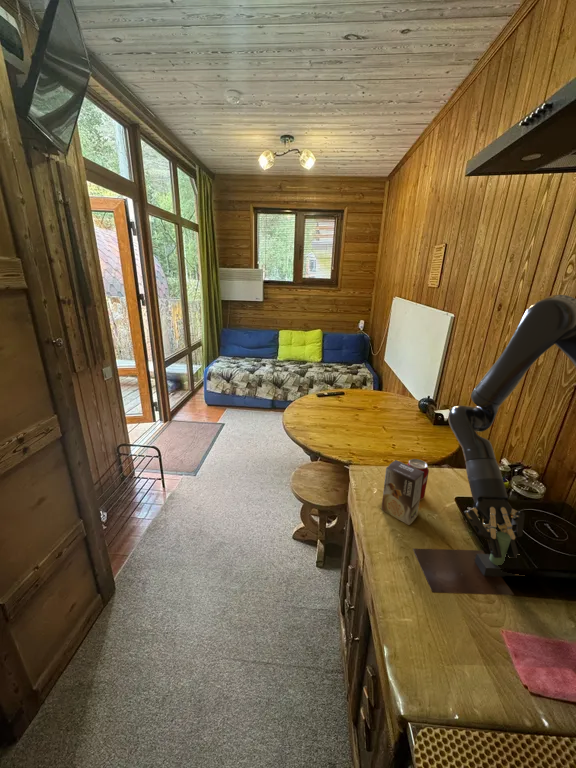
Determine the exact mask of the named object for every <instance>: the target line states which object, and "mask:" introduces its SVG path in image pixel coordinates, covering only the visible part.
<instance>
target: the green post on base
mask: <svg viewBox="0 0 576 768" xmlns="http://www.w3.org/2000/svg"><path fill="white" fill-rule="evenodd" d="M496 540H498V543H499V547H500V551H501V555H502V558H495V557H494V556H493V555H492V554H491V553H485V554H477V555H476V559H475V563H476V564H477V566H478V567H479V569H480V571H481V572H482V574H483V575H484V576H496V577H502V578H506V577H515V576H516V575H515V574H512V573H507V572H501V570H500V569H501V568H500V567H499V566H498V565H502V564H503V563H504V561H505V557H506V554H507V551H508V547H509V544H510V541H511V537H510V536H509V535H508V534H506V533H504V532H501V530H500V531H496Z"/></svg>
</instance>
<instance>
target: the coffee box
mask: <svg viewBox="0 0 576 768" xmlns="http://www.w3.org/2000/svg"><path fill="white" fill-rule="evenodd" d="M407 464H408V463H404V462H402V461H400V460H397V459H395V460H393V461H392V462H391V463H389V464H388V466H387V467H386V468H385V475H384V481H383V483H384V484H383V492H382V502H381V510H382V511H383V512H385V513H387V514H388V515H390V516H391V517H392V518H393V517H394V518H395V519H397V520H399V521H401V522H402V523H404V524H406V525H407V526H410V525H411V524H412V523H413V522H414V521H415V520H416V518H417V517H418V515H419V508H420V504H421V503H420V502H421V500H420V497H421V490H422V484H423V478H424V472H423V471H421V470H419V469H416V468H414V467H411V466H409V465H407Z"/></svg>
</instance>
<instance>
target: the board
mask: <svg viewBox="0 0 576 768" xmlns="http://www.w3.org/2000/svg"><path fill="white" fill-rule="evenodd" d="M412 551H413V552H414V555H415V558H416V560H417V562H418V564H419V566H420V568H421V571H422V573H423V575H424V577H425V579H426V582H427V584H428V586H429V588H430V590H431V593H434V594H463V595H464V594H470V595H496V596H497V595H501V596H506V595H507V596H515V594H514V592H513V591H512V589H511V588H510V586H509V585H508V584H507V582H506V581H505V580H504V577H496V576H484V575H483V574H482V572H481V571H480V569H479V567H478V566H477V564H476V563H475V559H476V555H477V554H486V553H485V552H484V550H482V549H481V550H479V549H449V548H447V549H445V548H414V547H412Z"/></svg>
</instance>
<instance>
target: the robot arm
mask: <svg viewBox="0 0 576 768" xmlns="http://www.w3.org/2000/svg"><path fill="white" fill-rule="evenodd" d="M554 345H556V347H557V349H559V350H560V351H561V352H562V353H563V354H564V355H565V356H566V357H567V358H568V359H569V361H570V362H571V363H572V365H573V366H574V368H575V370H576V298H574V296H571V295H567V294H552V295H549V296H547V297H544V298H541V299H539V300H537V301H536V302H533V303H532V304H531V305H530V306H528V307H527V309H526V310H525V311H524V313H523V315H522V317H521V318H520V321H519V323H518V325H517V327H516V329H515V330H514V333H513V334H512V337H511V338H510V340H509V342H508V344H507V345H506V347H505V348H504V350H503V352H502V353H501V355H499V357H498V358H497V360H496V361H495V363H493V365H492V366H491V367H490V369H489V370H488V371H487V372H486V374H484V376H483V377H482V379H481V380H479V382H478V384H477V385H476V386H475V388H474V389H473V391H472V392H471V395H470V399H471V401H472V402H473V403H474V405H476V406H471V405H462V404H461V405H460V404H459V405H454V406H453V407H451V408H450V410H449V412H448V417H447V418H448V419H447V422H448V424H449V427H450V429H451V432H452V433H453V435H454V437H455V439H456V441H457V442H458V444H459V446H460V448H461V450H462V454H463V455H462V456H463V459H464V463H465V472H466V477H467V480H468V485H469V490H470V494H471V497H472V499H473V500H472V501H473V507H472V508H470V509H467V510H464V511H463V513H464V516H465V517H466V519H467V520H468V522H469V523H470V525H471V527H472V529H473V530H474V531H475V534H477V536H479V537H480V536H481V537H483V538H485V539H486V541H487V544H488V549H489V554H492V555H493V556H494V557H495V558H502V555H501V551H500V547H499V543H498V540H496V533H497V530H496V529H497V527H498V529H499V530H500V531H501V532H504V533H506V534H508V535H509V536H510V537H511V541H510V544H509V547H508V551H507V554H508V557H509V558H517V555H519V551H518V547H517V544H516V539H517V538H521V537H523V533H524V525H525V516H526V513H525V511H523V510H516V509H514V508H513V507H512V506H511V504H510V503H509V501H508V499H509V496H508V492H507V488H506V484H505V482H504V478H503V475H502V471H501V468H500V466H499V464H498V461H497V459H496V454H495V452H494V448H493V445H492V443H491V441H490V440H489V439H487V438H485V437H483V436H480V435H479V434H478V433H483V432H485V431H487V430H489V429H490V427H492V425H493V423H494V421H495V419H496V416H497V414H498V412H499V410H500V409H499V408H500V407H501V405H502V404H503V403H504V402H505V401H506V400H507V399H508V397H509V396H510V395H511V394H512V393H513V392H514V391H515V389H516V388H517V386H518V385H519V384H520V382H521V381H522V379H523V377H524V376H525V374H526V373H527V372H528V370H529V369H530V368H531V367H532V365H534V363H536V361H537V360H538V359H539V358H540V357H541V356H542V355H543V354H544V353H546V352H547V351H548V350H550V348H551V347H553V346H554ZM479 517H480V518H481V519H482V521H481V520H480V518H479ZM510 518H511V519H510Z"/></svg>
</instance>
